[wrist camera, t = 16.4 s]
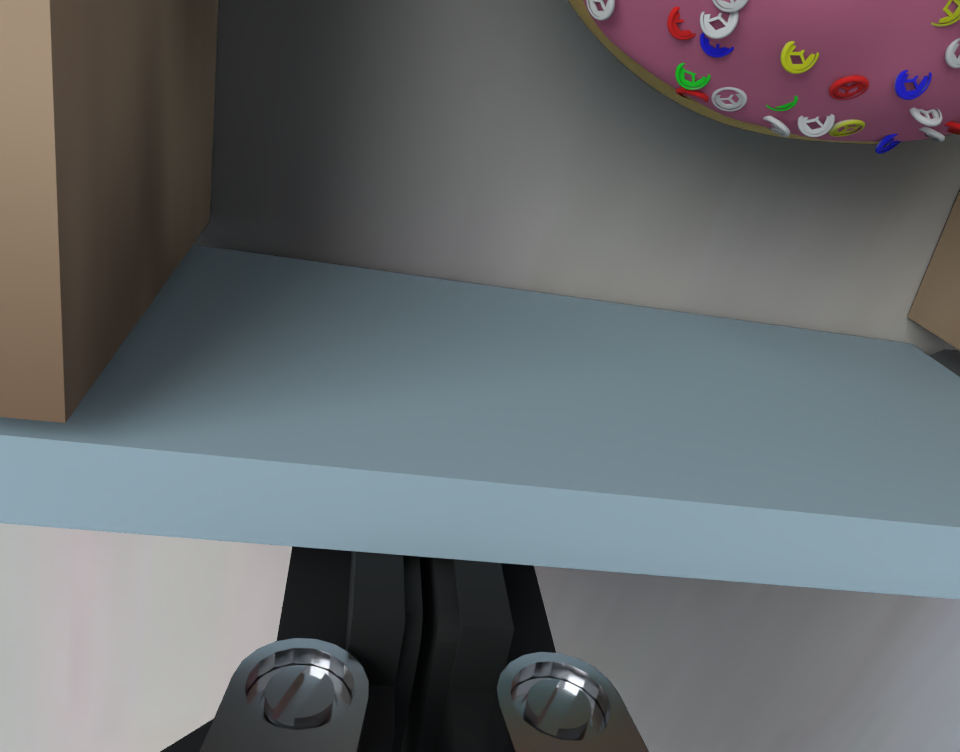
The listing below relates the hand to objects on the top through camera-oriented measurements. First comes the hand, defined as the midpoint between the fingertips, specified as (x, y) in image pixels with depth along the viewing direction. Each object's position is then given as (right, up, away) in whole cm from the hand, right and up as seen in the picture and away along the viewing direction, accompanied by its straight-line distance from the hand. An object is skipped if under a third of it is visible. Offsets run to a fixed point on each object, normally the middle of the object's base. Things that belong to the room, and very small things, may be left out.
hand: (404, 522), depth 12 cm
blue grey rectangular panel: (+3, +3, +3) cm, 5 cm away
